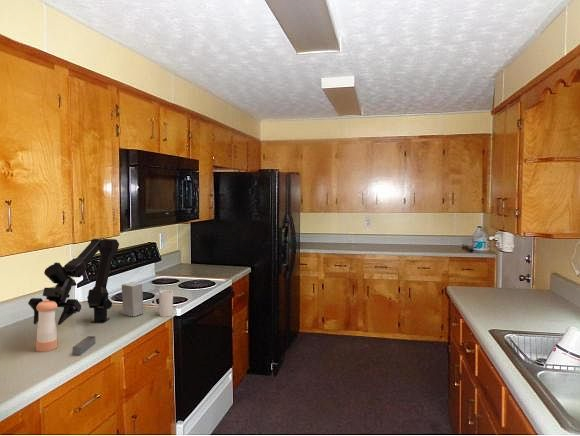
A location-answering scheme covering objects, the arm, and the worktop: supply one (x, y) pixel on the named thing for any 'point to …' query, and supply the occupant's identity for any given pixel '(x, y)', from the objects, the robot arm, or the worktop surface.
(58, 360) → the worktop surface
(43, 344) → the salt shaker
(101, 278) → the robot arm
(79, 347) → the steel bar
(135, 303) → the skincare box
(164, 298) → the mug
